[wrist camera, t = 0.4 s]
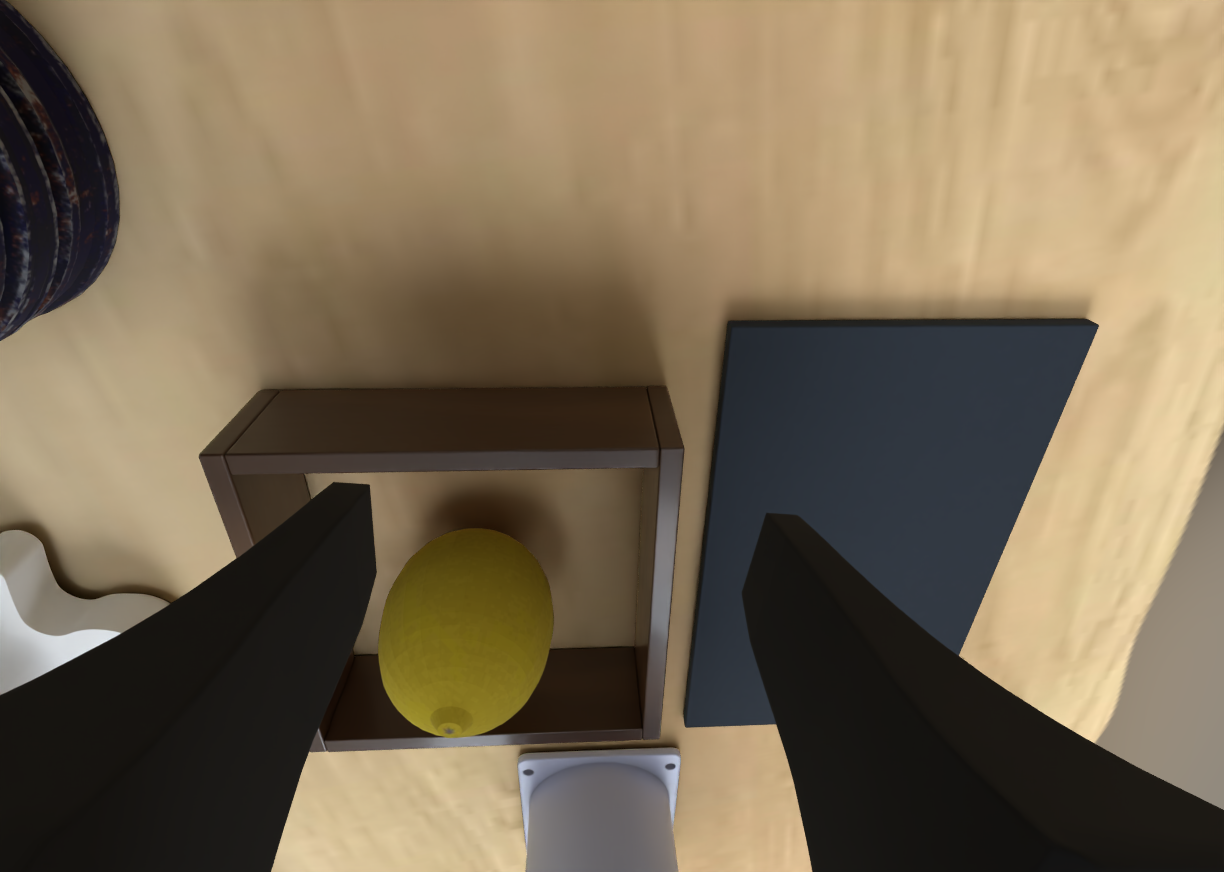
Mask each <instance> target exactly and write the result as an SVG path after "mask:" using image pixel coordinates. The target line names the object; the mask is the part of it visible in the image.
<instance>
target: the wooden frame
mask: <svg viewBox="0 0 1224 872" xmlns="http://www.w3.org/2000/svg"><path fill="white" fill-rule="evenodd" d="M199 459H200V462H201V464H202V467H203V470H204V472H205V475H206V478H207V480H208V483H209V486H210V488H211V491H212V494H213V496H214V499H215V502H216V504H217V507H218V510H219V512H220V515H221V518H222V520H223V523H224V526H225V528H226V531H227V534H228V536H229V539H230V542H231V544H232V547H233V550H234V552H235V555H236V558H238V557H239V556H241V555H242V554H243V553H245V552H246V551H247V550H249V549H250V548H251V547H253V546H254V545H255V544H256V543H258V542H259V541H260V540H262V539H263V538H264V537H265V536H267V535H268V534H269V533H271V532H272V531H273V530H275V529H276V528H277V527H278V526H280V525H281V524H282V523H283V522H284V521H286V520H287V519H288V518H289V517H291V516H292V515H293V514H294V513H296V512H297V511H298V510H299V509H301V508H302V507H303V506H304V505H305V504H307V503H308V502H309V501H310V496H309V493H308V489H307V486H306V482H305V479H304V475H303V474H308V473H368V472H428V471H488V470H547V469H607V468H643V477H642V499H641V520H640V542H639V563H638V584H637V606H636V627H635V648H634V647H622V648H590V649H557V650H549V654H548V658H547V662H546V665H545V668H544V671H543V674H542V676H541V678H540V680H539V683H538V684H537V686H536V688H535V689H534V691H533V693H532V694H531V696H530V697H529V699H528V701H527V702H526V703H525V705H524V706H523V707H522V708H521V709H520V710H519V711H518V712H517V713H516V714H515V715H513V716H512V717H511V718H510V719H509V720H507V721H506V722H505V723H503V724H501V725H499V726H497V727H495V728H494V729H492V730H490V731H487V732H485V733H482V734H478V735H475V736H469V737H461V738H446V737H443V736H438V735H435V734H432V733H429V732H427V731H424V730H422V729H420V728H419V727H417V726H415V725H414V724H412V723H411V722H410V721H408V720H407V719H406V718H405V717H404V716H403V715H402V714H401V713H400V712H399V711H398V710H397V709H396V707H395V706H394V705H393V703H392V701H391V700H390V698H389V696H388V694H387V692H386V690H385V688H384V685H383V681H382V676H381V671H380V665H379V655H364V656H355V657H354V653H353V650H352V651H351V653H350V655H349V658H348V660H347V663H346V665H345V667H344V670H343V672H342V674H341V677H340V679H339V681H338V684H337V686H336V688H335V691H334V693H333V695H332V698H331V700H330V702H329V705H328V707H327V710H326V712H325V714H324V717H323V719H322V721H321V724H320V726H319V728H318V731H317V733H316V735H315V738H314V740H313V743H312V745H311V748H310V750H309V752H326V751H327V750H328V752H340V751H366V750H392V749H418V748H444V747H470V746H496V745H522V744H548V743H573V742H599V741H625V740H642V739H643V740H648V739H659V738H660V731H661V719H662V707H663V696H664V684H665V672H666V660H667V648H668V637H669V625H670V613H671V601H672V589H673V578H674V566H675V554H676V542H677V530H678V519H679V507H680V495H681V483H682V471H683V460H684V445H683V442H682V438H681V435H680V431H679V427H678V424H677V420H676V417H675V413H674V410H673V406H672V403H671V399H670V395H669V392H668V388H667V386H648V387H647V389H646V387H547V388H448V389H350V390H282V391H279V390H261V391H258V392H257V393H256V394H255V395H254V397H253V398H252V399H251V400H250V401H249V402H248V403H247V404H246V405H245V406H244V407H243V408H242V409H241V410H240V411H239V413H238V414H237V415H236V416H235V417H234V418H233V419H232V420H231V421H230V422H229V423H228V424H227V425H226V426H225V427H224V429H223V430H222V431H221V432H220V433H219V434H218V435H217V436H216V437H215V438H214V439H213V440H212V441H211V442H210V443H209V445H208V446H207V447H206V448H205V449H204V450H203V451H202V452H201V453H200V454H199Z"/></svg>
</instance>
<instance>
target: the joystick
mask: <svg viewBox="0 0 1224 872" xmlns="http://www.w3.org/2000/svg"><path fill="white" fill-rule="evenodd" d="M169 604H170V603H169V602H167V601H165V600H163V599H160V598H157V597H154V596H151V595H146V594H128V593H120V594H112V595H107V596H104V597H101V598H98V599H94V600H86V599H80V598H77V597H74V596H72V595H70V594H68V593H66V592H65V591H63V590H62V589H61V588H60V587H59V586H58V584H57V583H56V581H55V578H54V576H53V574H52V571H51V569H50V566H49V563H48V560H47V557H46V554H45V550H44V547H43V544H42V543H41V541H40V540H39V539H38V538H36V537H35V536H33V535H32V534H30V533H27V532H25V531H21V530H10V531H4V532H2V533H1V534H0V695H1V694H3V693H6V692H8V691H10V690H12V689H14V688H16V687H18V686H21V685H23V684H25V683H27V682H29V681H31V680H33V679H35V678H37V677H39V676H41V675H43V674H45V673H47V672H49V671H51V670H53V669H55V668H57V667H58V666H60V665H62V664H64V663H66V662H68V661H70V660H72V659H74V658H76V657H78V656H79V655H81V654H83V653H85V652H87V651H89V650H91V649H93V648H95V647H97V646H99V645H101V644H102V643H104V642H106V641H108V640H110V639H112V638H114V637H116V636H117V635H119V634H121V633H123V632H124V631H126V630H128V629H130V628H131V627H133V626H135V625H136V624H138V623H140V622H141V621H143V620H145V619H146V618H148V617H150V616H151V615H153V614H155V613H156V612H158V611H160V610H161V609H163V608H165V607H166V606H168V605H169Z"/></svg>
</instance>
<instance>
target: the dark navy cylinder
mask: <svg viewBox="0 0 1224 872" xmlns="http://www.w3.org/2000/svg"><path fill="white" fill-rule="evenodd" d="M119 218H120V217H119V189H118V184H117V179H116V173H115V168H114V163H113V160H112V157H111V154H110V151H109V148H108V145H107V142H106V139H105V136H104V133H103V131H102V129H101V127H100V125H99V123H98V121H97V118H96V116H95V114H94V112H93V110H92V108H91V106H90V104H89V102H88V100H87V98H86V97H85V95H84V94H83V92H82V91H81V89H80V87H79V86H78V84H77V83H76V81H75V80H74V78H73V77H72V75H71V73H70V72H69V70H68V69H67V67H66V66H65V65H64V63H63V62H62V61H61V60H60V58H59V57H58V56H57V55H56V53H55V52H54V51H53V50H52V48H51V47H50V46H49V45H48V43H47V42H46V41H45V40H44V39H43V37H42V36H41V35H40V34H39V33H38V32H37V31H36V30H35V29H34V28H33V27H32V26H31V25H30V24H29V23H28V22H27V21H26V20H25V19H24V18H23V17H22V16H21V15H20V14H19V13H18V12H17V11H16V9H15V8H14V7H13V6H12V5H11V4H9V3H8V2H7V1H6V0H0V341H1V340H3V339H5V338H6V337H8V336H10V335H12V334H13V333H15V332H17V331H18V330H19V329H20V328H21V327H22V326H23V325H24V324H25V323H26V322H28V321H30V320H31V319H33V318H35V317H37V316H39V315H42V314H45V313H48V312H50V311H52V310H54V309H56V308H58V307H60V306H62V305H64V304H65V303H67V302H69V301H71V300H72V299H74V298H76V297H78V296H79V295H81V294H82V293H83V292H84V291H85V290H86V289H87V288H88V287H89V286H90V285H91V284H93V283H94V282H95V281H96V279H97V278H98V276H99V275H100V273H101V272H102V270H103V269H104V267H105V266H106V265H107V263H108V260H109V258H110V255H111V253H112V250H113V248H114V245H115V242H116V237H117V230H118V224H119Z"/></svg>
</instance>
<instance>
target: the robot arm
mask: <svg viewBox="0 0 1224 872" xmlns="http://www.w3.org/2000/svg"><path fill="white" fill-rule="evenodd" d="M376 573H377V571H376V558H375V546H374V533H373V521H372V508H371V496H370V485H367V484H353V483H339V482H333V483H332V484H331V485H329V486H328V487H327V488H326V489H324V490H323V491H322V492H320V493H319V494H318V495H317V496H315V497H314V498H313V499H312V500H310V501H309V502H308V503H307V504H305V505H304V506H303V507H302V508H301V509H299V510H298V511H297V512H296V513H294V514H293V515H292V516H291V517H289V518H288V519H287V520H286V521H284V522H283V523H282V524H281V525H280V526H278V527H277V528H276V529H275V530H273V531H272V532H271V533H269V534H268V535H267V536H265V537H264V538H263V539H262V540H260V541H259V542H258V543H256V544H255V545H254V546H253V547H251V548H250V549H249V550H247V551H246V552H245V553H243V554H242V555H241V556H239V557H238V558H237V559H235V560H234V561H232V562H231V563H230V564H228V565H227V566H225V567H224V568H222V569H221V570H220V571H218V572H217V573H215V574H214V575H213V576H211V577H210V578H208V579H207V580H205V581H204V582H203V583H201V584H200V585H198V586H197V587H196V588H194V589H193V590H191V591H190V592H188V593H187V594H185V595H183V596H182V597H180V598H179V599H177V600H176V601H174V602H173V603H171V604H169V605H168V606H166V607H165V608H163V609H161V610H160V611H158V612H156V613H155V614H153V615H151V616H150V617H148V618H146V619H145V620H143V621H141V622H140V623H138V624H136V625H135V626H133V627H131V628H130V629H128V630H126V631H124V632H123V633H121V634H119V635H117V636H116V637H114V638H112V639H110V640H108V641H106V642H104V643H102V644H101V645H99V646H97V647H95V648H93V649H91V650H89V651H87V652H85V653H83V654H81V655H79V656H78V657H76V658H74V659H72V660H70V661H68V662H66V663H64V664H62V665H60V666H58V667H57V668H55V669H53V670H51V671H49V672H47V673H45V674H43V675H41V676H39V677H37V678H35V679H33V680H31V681H29V682H27V683H25V684H23V685H21V686H18V687H16V688H14V689H12V690H10V691H8V692H6V693H3V694H1V695H0V872H271V870H272V867H273V863H274V860H275V856H276V853H277V850H278V846H279V843H280V839H281V836H282V833H283V829H284V826H285V823H286V820H287V817H288V813H289V810H290V807H291V804H292V801H293V798H294V794H295V791H296V788H297V785H298V782H299V778H300V775H301V772H302V769H303V766H304V764H305V761H306V758H307V756H308V753H309V750H310V748H311V745H312V743H313V740H314V738H315V735H316V733H317V731H318V728H319V726H320V724H321V721H322V719H323V717H324V714H325V712H326V710H327V707H328V705H329V702H330V700H331V698H332V695H333V693H334V691H335V688H336V686H337V684H338V681H339V679H340V677H341V674H342V672H343V670H344V667H345V665H346V663H347V660H348V658H349V655H350V653H351V651H352V648H353V646H354V643H355V641H356V639H357V636H358V634H359V631H360V629H361V626H362V624H363V620H364V617H365V613H366V610H367V607H368V603H369V600H370V596H371V592H372V588H373V585H374V581H375V577H376ZM741 594H742V600H743V606H744V612H745V618H746V623H747V628H748V634H749V639H750V643H751V647H752V650H753V653H754V657H755V660H756V663H757V666H758V669H759V672H760V676H761V679H762V682H763V685H764V688H765V691H766V694H767V697H768V700H769V703H770V707H771V710H772V713H773V716H774V719H775V722H776V725H777V728H778V731H779V734H780V737H781V740H782V743H783V747H784V750H785V753H786V756H787V759H788V763H789V767H790V770H791V774H792V777H793V781H794V785H795V790H796V794H797V799H798V804H799V808H800V813H801V817H802V822H803V826H804V831H805V836H806V840H807V846H808V851H809V856H810V861H811V866H812V871H813V872H1224V810H1223V809H1221V808H1219V807H1217V806H1214V805H1212V804H1210V803H1208V802H1206V801H1204V800H1202V799H1200V798H1198V797H1196V796H1194V795H1192V794H1190V793H1188V792H1186V791H1184V790H1182V789H1180V788H1178V787H1176V786H1174V785H1172V784H1170V783H1168V782H1166V781H1164V780H1162V779H1160V778H1158V777H1156V776H1154V775H1152V774H1150V773H1148V772H1146V771H1144V770H1142V769H1140V768H1138V767H1136V766H1134V765H1132V764H1130V763H1129V762H1127V761H1125V760H1123V759H1121V758H1120V757H1118V756H1116V755H1114V754H1113V753H1111V752H1109V751H1107V750H1105V749H1103V748H1102V747H1100V746H1098V745H1096V744H1094V743H1093V742H1091V741H1089V740H1087V739H1085V738H1084V737H1082V736H1080V735H1079V734H1077V733H1075V732H1074V731H1072V730H1070V729H1068V728H1067V727H1065V726H1063V725H1062V724H1060V723H1058V722H1057V721H1055V720H1053V719H1052V718H1050V717H1048V716H1047V715H1045V714H1044V713H1042V712H1040V711H1039V710H1037V709H1036V708H1034V707H1033V706H1031V705H1030V704H1028V703H1026V702H1025V701H1023V700H1022V699H1020V698H1019V697H1017V696H1015V695H1014V694H1012V693H1011V692H1009V691H1008V690H1006V689H1005V688H1003V687H1002V686H1000V685H999V684H997V683H996V682H994V681H993V680H991V679H990V678H988V677H987V676H985V675H984V674H983V673H981V672H980V671H979V670H977V669H976V668H974V667H973V666H972V665H970V664H969V663H968V662H966V661H965V660H963V659H962V658H961V657H959V656H958V655H957V654H955V653H954V652H953V651H951V650H950V649H948V648H947V647H946V646H945V645H943V644H942V643H941V642H939V641H938V640H937V639H936V638H934V637H933V636H932V635H930V634H929V633H928V632H927V631H926V630H924V629H923V628H922V627H921V626H920V625H918V624H917V623H916V622H915V621H914V620H912V619H911V618H910V617H909V616H908V615H906V614H905V613H904V612H903V611H902V610H900V609H899V608H898V607H897V606H896V605H895V604H894V603H892V602H891V601H890V600H889V599H888V598H887V597H886V596H884V595H883V594H882V593H881V592H880V591H879V590H878V589H877V588H876V587H874V586H873V585H872V584H871V583H870V582H869V581H868V580H867V579H866V578H865V577H864V576H863V575H861V574H860V573H859V572H858V571H857V570H856V569H855V568H854V567H853V566H852V565H851V564H850V563H849V562H848V561H847V560H846V559H845V558H843V557H842V556H841V555H840V554H839V553H838V552H837V551H836V550H835V549H834V548H833V547H832V546H831V545H830V544H829V543H828V542H827V541H826V540H825V539H824V538H823V537H821V536H820V535H819V534H818V533H817V532H816V531H815V530H814V529H813V528H812V527H811V526H810V525H809V524H808V523H806V522H805V521H804V520H803V519H802V518H801V517H799V516H798V515H792V514H778V513H766V515H765V518H764V521H763V525H762V528H761V531H760V535H759V538H758V541H757V544H756V548H755V551H754V554H753V557H752V561H751V564H750V567H749V570H748V574H747V577H746V580H745V583H744V587H743V590H742V593H741ZM680 764H681V755H680V751H679V750H678V749H676V748H672V747H668V748H642V749H617V750H591V751H566V752H540V753H525V754H522V755H521V756H520V757H519V758H518V775H519V785H520V794H521V804H522V814H523V823H524V833H525V843H526V853H527V856H526V872H678V865H677V858H676V850H675V842H674V834H673V825H674V816H675V808H676V799H677V790H678V782H679V773H680Z"/></svg>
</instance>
